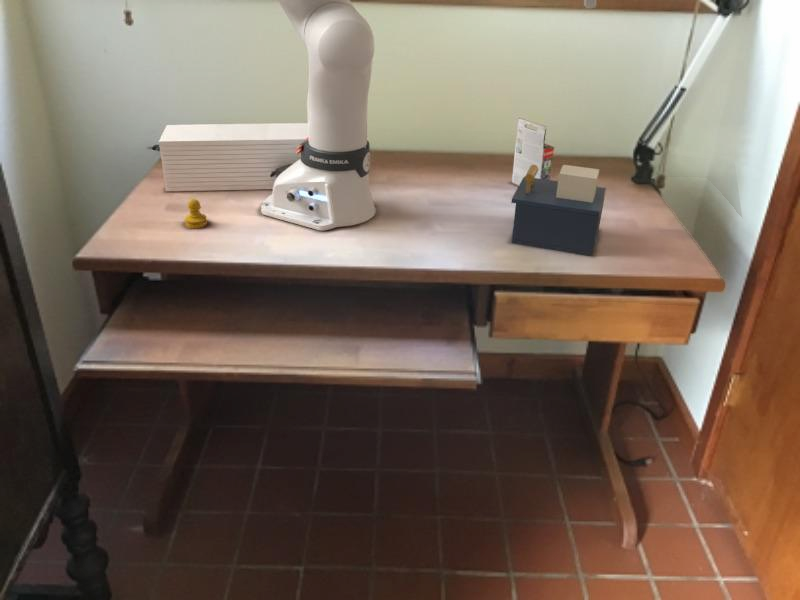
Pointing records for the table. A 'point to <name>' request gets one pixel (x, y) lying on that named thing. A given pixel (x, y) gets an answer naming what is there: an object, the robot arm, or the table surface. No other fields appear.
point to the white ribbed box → (228, 155)
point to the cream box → (577, 183)
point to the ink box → (531, 152)
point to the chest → (556, 229)
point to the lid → (553, 195)
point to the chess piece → (195, 215)
